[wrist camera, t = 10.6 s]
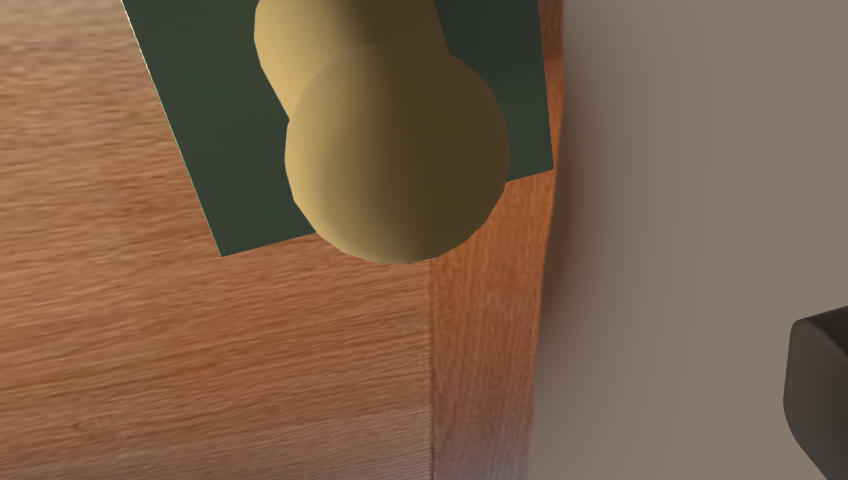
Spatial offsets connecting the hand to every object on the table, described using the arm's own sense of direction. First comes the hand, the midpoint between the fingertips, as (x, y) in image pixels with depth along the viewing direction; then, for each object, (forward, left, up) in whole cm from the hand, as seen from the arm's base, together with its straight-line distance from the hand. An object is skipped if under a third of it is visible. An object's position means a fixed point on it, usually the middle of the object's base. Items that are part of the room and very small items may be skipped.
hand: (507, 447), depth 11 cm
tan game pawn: (0, 0, -19) cm, 19 cm away
